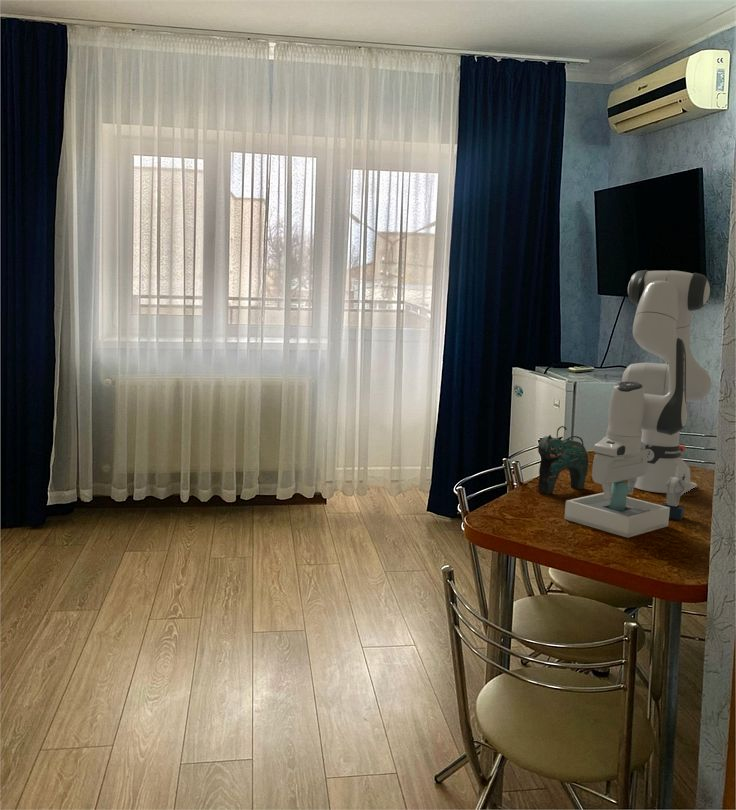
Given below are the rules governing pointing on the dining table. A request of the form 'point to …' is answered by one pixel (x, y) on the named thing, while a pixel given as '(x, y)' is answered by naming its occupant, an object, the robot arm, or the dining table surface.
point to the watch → (675, 497)
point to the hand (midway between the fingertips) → (618, 496)
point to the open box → (617, 515)
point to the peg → (618, 496)
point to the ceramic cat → (561, 462)
